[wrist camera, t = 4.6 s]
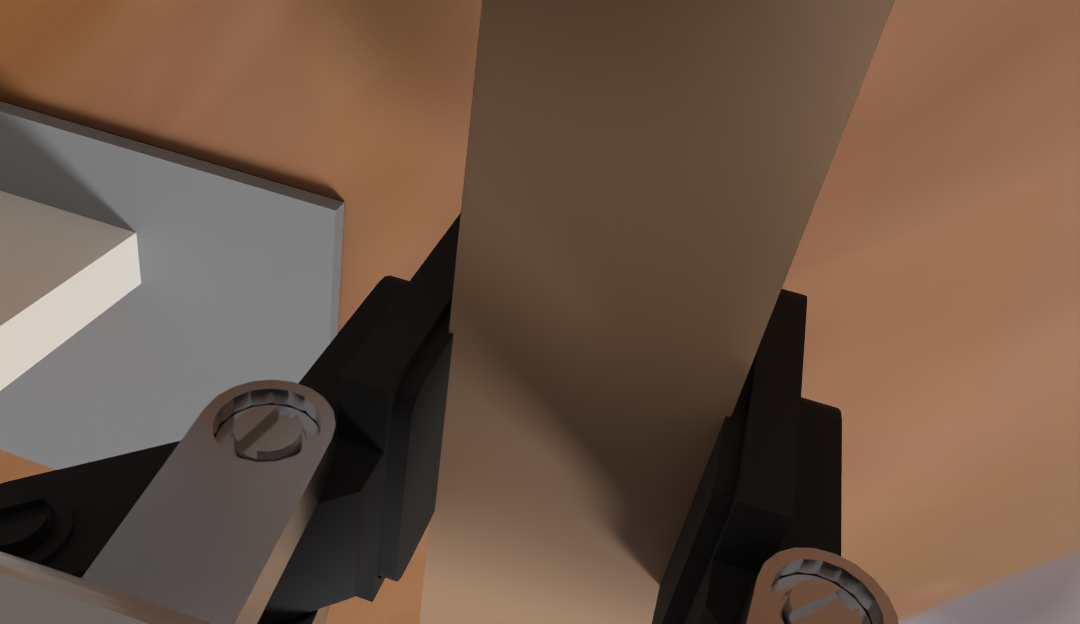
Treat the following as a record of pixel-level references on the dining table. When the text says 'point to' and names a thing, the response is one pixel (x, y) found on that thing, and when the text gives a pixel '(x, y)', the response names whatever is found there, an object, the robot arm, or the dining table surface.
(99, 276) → the tile
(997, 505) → the dining table surface
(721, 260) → the tan rectangular bar
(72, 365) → the rubber mat
